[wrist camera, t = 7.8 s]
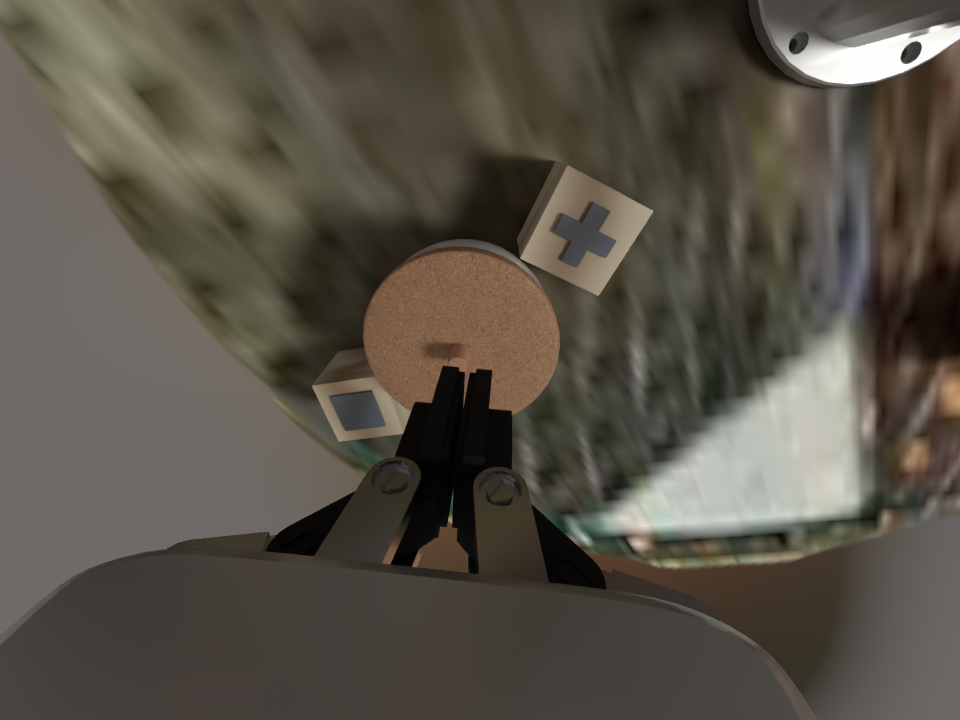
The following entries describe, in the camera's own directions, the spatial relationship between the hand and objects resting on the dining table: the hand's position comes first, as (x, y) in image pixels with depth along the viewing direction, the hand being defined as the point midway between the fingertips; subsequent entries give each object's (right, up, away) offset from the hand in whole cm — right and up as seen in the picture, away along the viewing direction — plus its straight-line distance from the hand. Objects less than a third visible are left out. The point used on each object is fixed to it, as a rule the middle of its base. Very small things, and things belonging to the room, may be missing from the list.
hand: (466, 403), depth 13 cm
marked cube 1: (-8, 0, +18) cm, 20 cm away
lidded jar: (0, +6, +15) cm, 16 cm away
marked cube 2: (+6, +11, +11) cm, 17 cm away
